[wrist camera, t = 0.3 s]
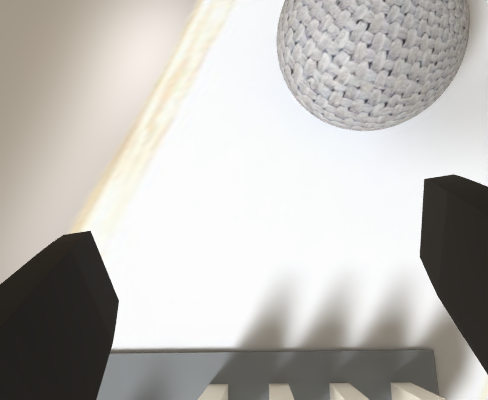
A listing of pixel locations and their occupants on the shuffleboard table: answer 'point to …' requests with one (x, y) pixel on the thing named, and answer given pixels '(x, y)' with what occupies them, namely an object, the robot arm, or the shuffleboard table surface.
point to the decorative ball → (370, 57)
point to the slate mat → (264, 373)
